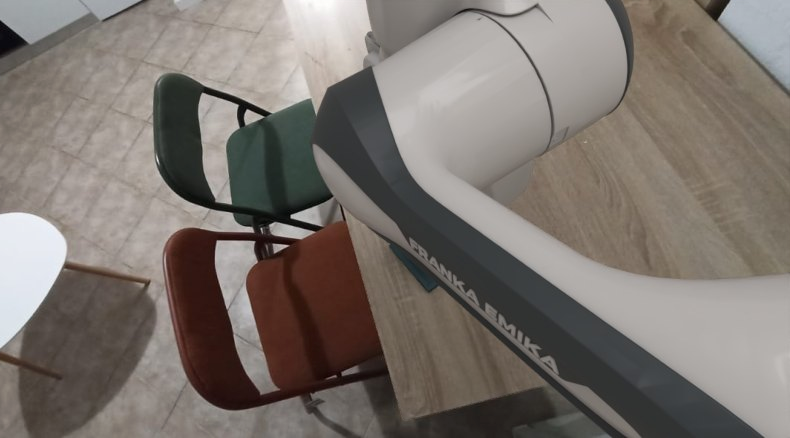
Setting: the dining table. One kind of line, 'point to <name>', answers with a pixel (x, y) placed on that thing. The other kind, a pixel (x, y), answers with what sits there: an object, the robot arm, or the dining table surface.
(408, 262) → the tray
